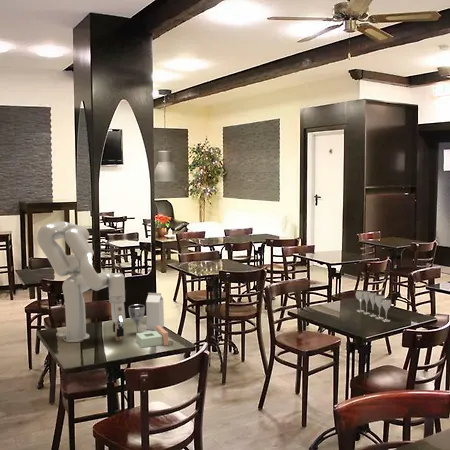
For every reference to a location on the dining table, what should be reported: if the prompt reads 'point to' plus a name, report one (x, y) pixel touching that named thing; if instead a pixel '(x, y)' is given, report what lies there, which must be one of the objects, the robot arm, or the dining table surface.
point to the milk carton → (154, 311)
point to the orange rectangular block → (163, 334)
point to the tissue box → (149, 339)
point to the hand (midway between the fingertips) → (118, 333)
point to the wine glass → (136, 313)
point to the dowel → (116, 333)
